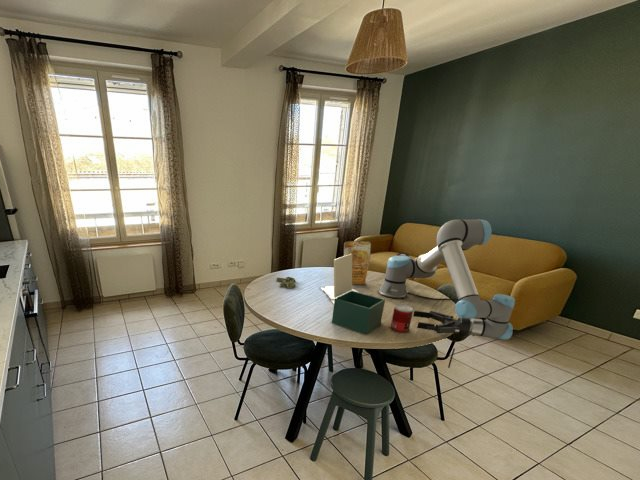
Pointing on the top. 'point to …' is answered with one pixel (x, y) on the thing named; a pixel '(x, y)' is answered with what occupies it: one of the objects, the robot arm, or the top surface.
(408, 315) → the canned food
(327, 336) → the top surface
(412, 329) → the top surface
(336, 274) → the lid
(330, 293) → the tray
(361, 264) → the pancake mix bag
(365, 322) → the tote
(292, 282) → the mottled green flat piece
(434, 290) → the top surface
